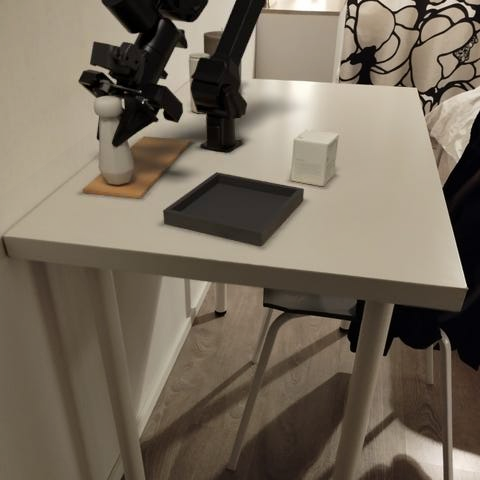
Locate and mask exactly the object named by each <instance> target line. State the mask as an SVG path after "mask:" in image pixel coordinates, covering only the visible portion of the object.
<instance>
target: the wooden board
mask: <svg viewBox="0 0 480 480" xmlns="http://www.w3.org/2000/svg"><path fill="white" fill-rule="evenodd" d="M190 144H191V139H183V138H171V137H170V138H169V137H159V136H145V135H144V136H143V137H141V138H140V139H139V140H137V142H136V143H134V144H133V145H132V146H131V147H130V151H131V154H132V157H133V161H134V171H133V173H132V176H131V179H130V181H129V182H127V183H123V184H119V185H117V184H109V183H108V182H107V180H106V179H105V177H104V176H103V175H102V173H101V172H100V174H99V175H97V176H96V177H95V178H94V179H93V180H91V182H89V183H88V184H87V185H86V186H85V187H84V188H82V193H83V194H91V195H101V196H111V197H112V196H113V197H121V198H123V197H124V198H132V199H142V198H143V197H144V195H146V193H147V192H148V191H149V190H150V189H151V188H152V187H153V186H154V185H155V183H156V182H157V181H158V180H159V179H160V178H161V177H162V175H163V174H165V172H166V171H167V170H168V169H169V168H170V166H172V164H174V162H175V161H176V160H177V159H178V158H179V156H180V155H181V154H182V153H183V152H184V151H185V150H186V149H187V148H188V146H189V145H190Z"/></svg>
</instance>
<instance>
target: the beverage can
mask: <svg viewBox="0 0 480 480" xmlns="http://www.w3.org/2000/svg"><path fill="white" fill-rule="evenodd" d="M209 56H210V55H209V54H206V53H204V52H194V53H190V54H188V71H189V88H191V83H192V80H193V79H192V78H191V76H192V75H193V74H194V72H195V70H196V67H197V63H198V61H199V59H200V58H201V57H203V58H210V57H209ZM189 93H190V94H189V95H190V109H191V110H192V112H193V113H196V114H203V113H202V112H197V110H196V107H195V103H194V100H193V97H192V93H191V90H190V89H189Z"/></svg>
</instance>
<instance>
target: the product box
mask: <svg viewBox="0 0 480 480" xmlns="http://www.w3.org/2000/svg"><path fill="white" fill-rule="evenodd" d="M339 136H340V134H339V133H338V132H331V131H324V130H323V131H322V130H316V129H315V130H314V129H305V130H303V132H300V133H299V134H298V135H297V136H296V137H294V138H293V144H292V146H293V148H292V161H291V173H290V181H292V182H297V183H301V184H308V185H312V186H318V187H324V186H326V184H327V183H328V182H329V181H330V180H331V179H332V178H333V177H334V176H335V170H336V161H337V152H338V144H339Z"/></svg>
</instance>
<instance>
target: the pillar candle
mask: <svg viewBox="0 0 480 480" xmlns="http://www.w3.org/2000/svg"><path fill="white" fill-rule="evenodd" d="M223 31H224V29H223V27H221V29H220V30H217V31H216V30H215V31H214V30H213V31H208V32H207V31H206V32H204V33H203V53H206V54H209V55H210V56H209V57H211V56H212V55H213V54H214V53H215V51H216V48H217V46H218V43H219V41H220V38H221V36H222V33H223ZM242 60H243V58H242V59H241V62H240V64H239V74H240V82H241V84H240V87H239V93H240V94H241V93H242V62H243V61H242Z"/></svg>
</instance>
